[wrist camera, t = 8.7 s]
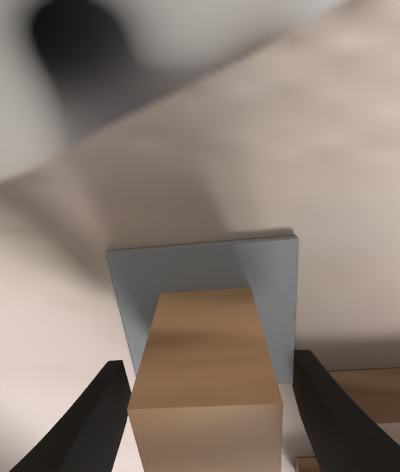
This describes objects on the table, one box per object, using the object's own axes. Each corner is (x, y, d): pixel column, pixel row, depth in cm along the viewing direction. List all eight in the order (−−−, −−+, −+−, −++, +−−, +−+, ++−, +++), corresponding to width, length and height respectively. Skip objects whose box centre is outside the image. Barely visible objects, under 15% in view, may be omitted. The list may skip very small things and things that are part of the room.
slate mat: (291, 376, 16) (293, 382, 15) (141, 383, 16) (140, 389, 16) (295, 235, 12) (298, 238, 12) (108, 250, 13) (105, 254, 13)
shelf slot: (442, 466, 19) (483, 526, 16) (295, 470, 19) (309, 529, 16) (481, 363, 15) (543, 417, 12) (300, 373, 16) (319, 425, 13)
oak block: (252, 356, 15) (280, 494, 9) (172, 360, 15) (151, 496, 9) (250, 287, 13) (282, 403, 8) (160, 293, 13) (126, 409, 8)
